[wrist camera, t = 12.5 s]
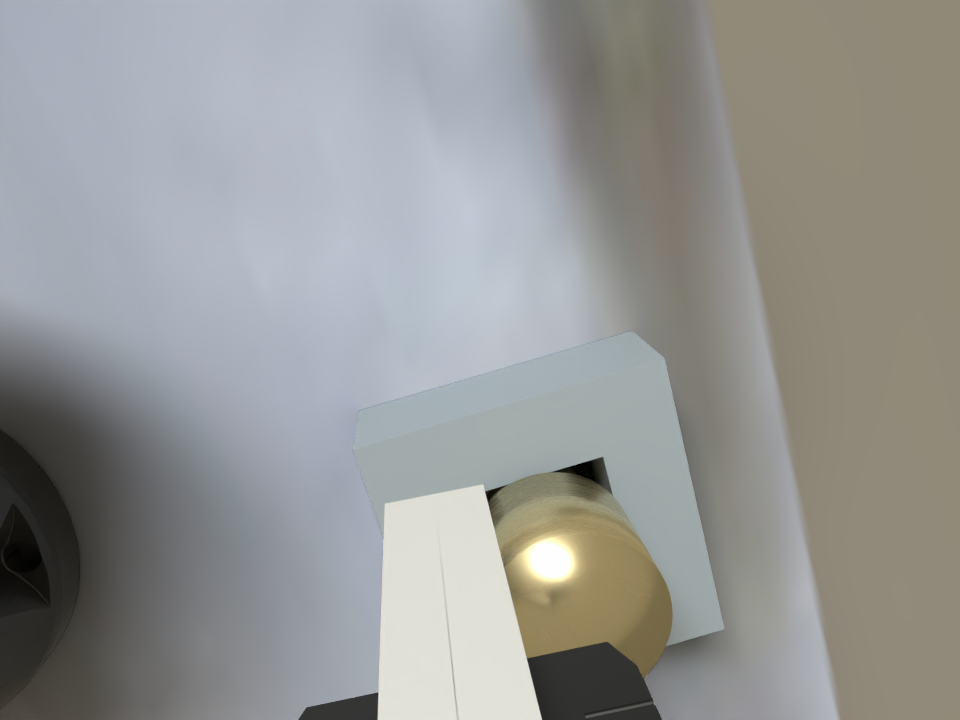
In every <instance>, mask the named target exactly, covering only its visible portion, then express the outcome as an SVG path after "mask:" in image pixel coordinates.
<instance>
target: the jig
mask: <svg viewBox="0 0 960 720" xmlns="http://www.w3.org/2000/svg"><path fill="white" fill-rule="evenodd" d="M352 450H353V453H354V456H355V459H356V462H357V465H358V468H359V470H360V473H361V476H362V479H363V482H364V485H365V488H366V491H367V494H368V497H369V499H370V502H371V505H372V508H373V511H374V514H375V517H376V520H377V523H378V525H379V528H380V531H381V534H382V537H383V540H384V513H385V504H386V503H391V502H396V501H401V500H406V499H411V498H416V497H421V496H427V495H432V494H437V493H442V492H447V491H452V490H457V489H462V488H467V487H472V486H477V485H482V484H483V486H484V490H485V491H488V490H491V489H495V488H498V487H502V486H505V485H508V484H511V483H513V482H515V481H517V480H519V479H522V478H524V477H527V476H531V475H535V474H540V473H548V472H553V471H556V470H559V469H563V468H566V467H570V466H573V465H577V464H580V463H583V462H587V461H590V463H591V467H592V471H593V474H594V478H595V482H596V483H597V484H599V485H601V486H602V487H603V488H605V489H606V490H607V491H609V492H610V493H611V494H612V495H613V496H614V497H615V498H616V500H617V501H618V502H619V504H620V505H621V506H622V508H623V510H624V512H625V513H626V515H627V517H628V518H629V520H630V522H631V523H632V525H633V527H634V529H635V530H636V532H637V534H638V535H639V537H640V539H641V540H642V542H643V544H644V546H645V547H646V549H647V551H648V552H649V554H650V556H651V557H652V559H653V561H654V563H655V564H656V566H657V568H658V569H659V571H660V573H661V574H662V576H663V578H664V580H665V582H666V584H667V587H668V590H669V592H670V596H671V601H672V612H673V618H672V628H671V632H670V636H669V639H668V642H667V645H666V646H669V645H673V644H676V643H680V642H683V641H686V640H690V639H693V638H696V637H700V636H703V635H707V634H710V633H713V632H717V631H720V630H723V629H724V625H723V620H722V616H721V611H720V607H719V602H718V598H717V593H716V588H715V584H714V579H713V575H712V570H711V566H710V561H709V557H708V552H707V548H706V543H705V539H704V534H703V530H702V525H701V521H700V516H699V512H698V507H697V503H696V498H695V494H694V489H693V485H692V480H691V476H690V471H689V467H688V462H687V457H686V453H685V448H684V444H683V439H682V435H681V430H680V426H679V421H678V417H677V412H676V408H675V403H674V399H673V394H672V390H671V385H670V381H669V376H668V372H667V367H666V363H665V358H664V357H662V356H661V355H660V354H659V353H658V352H657V351H655V350H654V349H653V348H652V347H651V346H649V345H648V344H647V343H646V342H645V341H643V340H642V339H641V338H640V337H639V336H638V335H636V334H635V333H634V332H633V331H630V332H627V333H623V334H620V335H616V336H613V337H610V338H606V339H603V340H599V341H596V342H592V343H589V344H586V345H582V346H579V347H575V348H572V349H568V350H565V351H562V352H558V353H555V354H551V355H548V356H544V357H541V358H538V359H534V360H531V361H527V362H524V363H521V364H517V365H514V366H510V367H507V368H503V369H500V370H497V371H493V372H490V373H486V374H483V375H479V376H476V377H473V378H469V379H466V380H462V381H459V382H455V383H452V384H449V385H445V386H442V387H438V388H435V389H431V390H428V391H425V392H421V393H418V394H414V395H411V396H408V397H404V398H401V399H397V400H394V401H390V402H387V403H384V404H380V405H377V406H373V407H370V408H366V409H363V410H360V411H359V414H358V420H357V425H356V431H355V437H354V443H353V448H352Z"/></svg>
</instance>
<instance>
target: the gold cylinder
mask: <svg viewBox="0 0 960 720" xmlns="http://www.w3.org/2000/svg"><path fill="white" fill-rule="evenodd" d="M485 494H486V498H487V502H488V506H489V510H490V514H491V518H492V522H493V526H494V530H495V534H496V538H497V542H498V546H499V550H500V554H501V558H502V562H503V566H504V570H505V574H506V578H507V582H508V586H509V590H510V594H511V598H512V602H513V606H514V610H515V614H516V618H517V622H518V626H519V630H520V634H521V638H522V642H523V646H524V650H525V654H526V658H531V657H536V656H540V655H545V654H550V653H555V652H560V651H564V650H569V649H574V648H579V647H584V646H588V645H593V644H598V643H603V642H608V643H610V644H611V645H612V646H613V647H615V648H616V649H617V650H618V651H620V652H621V653H622V654H623V655H625V656H626V657H627V658H628V659H630V660H631V661H632V662H633V663H635V664H636V665H637V666H638V668H639V671H640V673H641V675H642V677H643V678H644V677H645V676H646V675H647V674H648V673H649V672H650V671H651V670H652V668H653V667H654V666H655V664H656V663H657V662H658V660H659V659H660V657H661V655H662V653H663V651H664V650H665V647H666V645H667V642H668V639H669V636H670V632H671V628H672V618H673V612H672V601H671V596H670V592H669V590H668V587H667V584H666V582H665V580H664V578H663V576H662V574H661V573H660V571H659V569H658V568H657V566H656V564H655V563H654V561H653V559H652V557H651V556H650V554H649V552H648V551H647V549H646V547H645V546H644V544H643V542H642V540H641V539H640V537H639V535H638V534H637V532H636V530H635V529H634V527H633V525H632V523H631V522H630V520H629V518H628V517H627V515H626V513H625V512H624V510H623V508H622V506H621V505H620V504H619V502H618V501H617V500H616V498H615V497H614V496H613V495H612V494H611V493H610V492H609V491H607V490H606V489H605V488H603V487H602V486H601V485H599V484H597V483H596V482H594V481H592V480H590V479H587V478H585V477H582V476H579V475H576V473H575V472H574V470H573V468H572V467H571V466H570V467H566V468H563V469H559V470H556V471H553V472H548V473H540V474H535V475H531V476H527V477H524V478H522V479H519V480H517V481H515V482H513V483H511V484H508V485H505V486H502V487H498V488H495V489H491V490H488V491H485Z"/></svg>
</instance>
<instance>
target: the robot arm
mask: <svg viewBox="0 0 960 720" xmlns="http://www.w3.org/2000/svg"><path fill="white" fill-rule="evenodd" d="M79 578H80V563H79V552H78V545H77V540H76V536H75V532H74V528H73V525H72V522H71V519H70V517H69V514H68V512H67V510H66V507H65V505H64V503H63V501H62V499H61V497H60V495H59V494H58V492H57V490H56V489H55V487H54V486H53V484H52V482H51V481H50V480H49V478H48V477H47V475H46V474H45V473H44V471H43V470H42V469H41V468H40V467H39V465H38V464H37V463H36V462H35V461H34V460H33V459H32V457H31V456H30V455H29V454H28V453H27V452H26V451H25V450H24V449H23V448H21V447H20V446H19V445H18V444H17V443H16V442H15V441H14V440H12V439H11V438H10V437H9V436H7V435H6V434H5V433H4V432H2V431H1V430H0V709H1V708H2V707H4V706H5V705H6V704H7V703H9V702H10V701H11V700H12V699H13V698H14V697H15V696H16V695H17V694H18V693H19V692H20V691H21V690H22V689H23V688H24V687H25V686H26V685H27V684H28V683H29V682H30V680H31V679H32V678H33V677H34V676H35V674H36V673H37V672H38V670H39V669H40V667H41V666H42V665H43V663H44V662H45V660H46V659H47V658H48V656H49V655H50V653H51V652H52V650H53V649H54V647H55V646H56V645H57V643H58V642H59V640H60V638H61V637H62V635H63V633H64V631H65V629H66V627H67V625H68V623H69V621H70V618H71V616H72V613H73V610H74V606H75V603H76V599H77V594H78V588H79ZM299 720H662V719H661V717H660V714H659V712H658V710H657V708H656V706H654V704H653V699H652V697H651V695H650V692H649V690H648V688H647V686H646V684H645V681H644V679H643V677H642V675H641V673H640V671H639V668H638V666H637V665H636V664H635V663H633V662H632V661H631V660H630V659H628V658H627V657H626V656H625V655H623V654H622V653H621V652H620V651H618V650H617V649H616V648H615V647H613V646H612V645H611V644H610V643H608V642H603V643H598V644H593V645H588V646H584V647H579V648H574V649H569V650H564V651H560V652H555V653H550V654H545V655H540V656H536V657H531V658H526V654H525V650H524V646H523V642H522V638H521V634H520V630H519V626H518V622H517V618H516V614H515V610H514V606H513V602H512V598H511V594H510V590H509V586H508V582H507V578H506V574H505V570H504V566H503V562H502V558H501V554H500V550H499V546H498V542H497V538H496V534H495V530H494V526H493V522H492V518H491V514H490V510H489V506H488V502H487V498H486V494H485V490H484V486H483V484H482V485H477V486H472V487H467V488H462V489H457V490H452V491H447V492H442V493H437V494H432V495H427V496H421V497H416V498H411V499H406V500H401V501H396V502H391V503H386V504H385V513H384V543H383V573H382V603H381V633H380V663H379V693H374V694H369V695H364V696H360V697H355V698H350V699H345V700H340V701H336V702H331V703H326V704H321V705H316V706H312V707H307V708H306V709H305V711H304V712H303V714H302V715H301V717H300V718H299Z"/></svg>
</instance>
